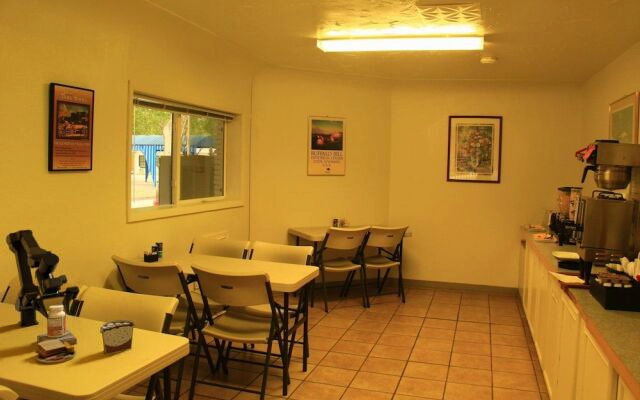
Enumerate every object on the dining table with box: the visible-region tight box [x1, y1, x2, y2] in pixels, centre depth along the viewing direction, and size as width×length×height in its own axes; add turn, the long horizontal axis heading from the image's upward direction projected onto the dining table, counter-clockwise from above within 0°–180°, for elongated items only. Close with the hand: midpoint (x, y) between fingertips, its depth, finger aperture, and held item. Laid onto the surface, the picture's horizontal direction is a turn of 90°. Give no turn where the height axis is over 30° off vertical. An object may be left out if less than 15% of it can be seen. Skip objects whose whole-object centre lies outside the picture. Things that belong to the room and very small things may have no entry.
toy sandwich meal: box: [34, 339, 78, 365], centre depth 180 cm, size 12×14×5 cm
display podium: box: [36, 329, 78, 346], centre depth 194 cm, size 11×11×2 cm
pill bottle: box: [46, 304, 67, 338], centre depth 194 cm, size 6×6×11 cm
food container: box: [99, 319, 136, 356], centre depth 188 cm, size 12×6×10 cm, turn 135°
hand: (57, 315), depth 192 cm, fingers open, 7 cm apart
